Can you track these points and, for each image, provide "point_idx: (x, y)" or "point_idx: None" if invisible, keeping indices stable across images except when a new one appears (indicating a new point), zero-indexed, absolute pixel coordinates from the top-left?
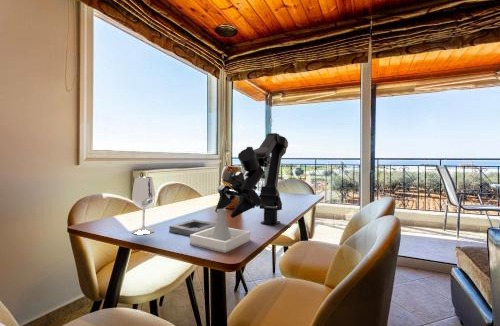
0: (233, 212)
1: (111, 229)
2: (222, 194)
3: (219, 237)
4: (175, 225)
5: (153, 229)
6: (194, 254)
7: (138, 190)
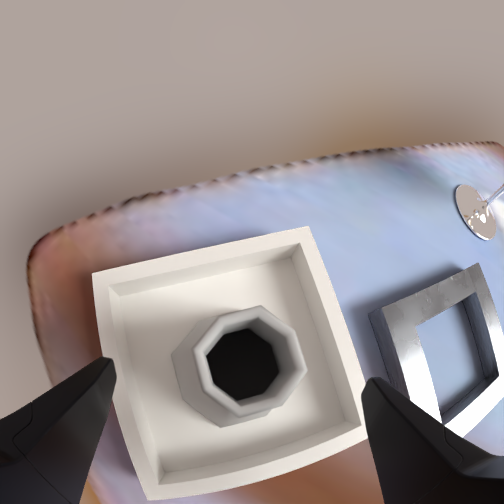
0: (78, 372)
1: (496, 177)
2: (488, 482)
3: (198, 329)
4: (480, 284)
5: (484, 237)
6: (184, 201)
7: None
